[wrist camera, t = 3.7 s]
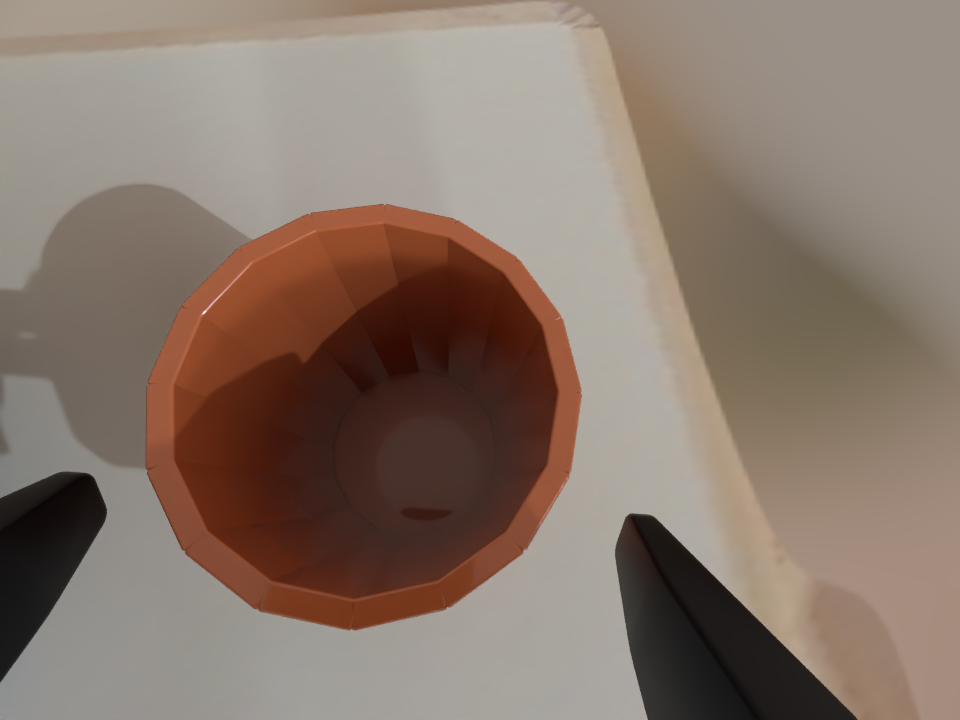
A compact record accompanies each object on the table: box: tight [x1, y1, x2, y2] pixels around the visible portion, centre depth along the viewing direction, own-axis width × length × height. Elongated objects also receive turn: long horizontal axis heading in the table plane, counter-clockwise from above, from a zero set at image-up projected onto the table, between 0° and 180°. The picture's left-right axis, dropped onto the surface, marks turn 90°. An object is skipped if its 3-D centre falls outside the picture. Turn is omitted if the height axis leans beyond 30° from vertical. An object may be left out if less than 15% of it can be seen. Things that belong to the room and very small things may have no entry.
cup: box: [146, 204, 582, 630], centre depth 12 cm, size 7×7×10 cm
